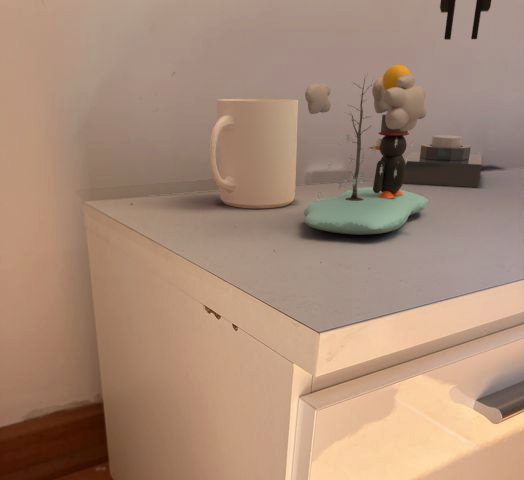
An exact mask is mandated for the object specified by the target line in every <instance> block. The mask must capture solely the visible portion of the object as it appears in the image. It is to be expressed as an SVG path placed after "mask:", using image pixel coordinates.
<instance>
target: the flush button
mask: <svg viewBox="0 0 524 480" xmlns="http://www.w3.org/2000/svg"><path fill="white" fill-rule="evenodd" d="M430 143H431V146H436V147H461V145H462V143H463V136H460V135H447V134H446V135H445V134H441V135H440V134H439V135H437V134H436V135H432V138H431V142H430Z"/></svg>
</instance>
